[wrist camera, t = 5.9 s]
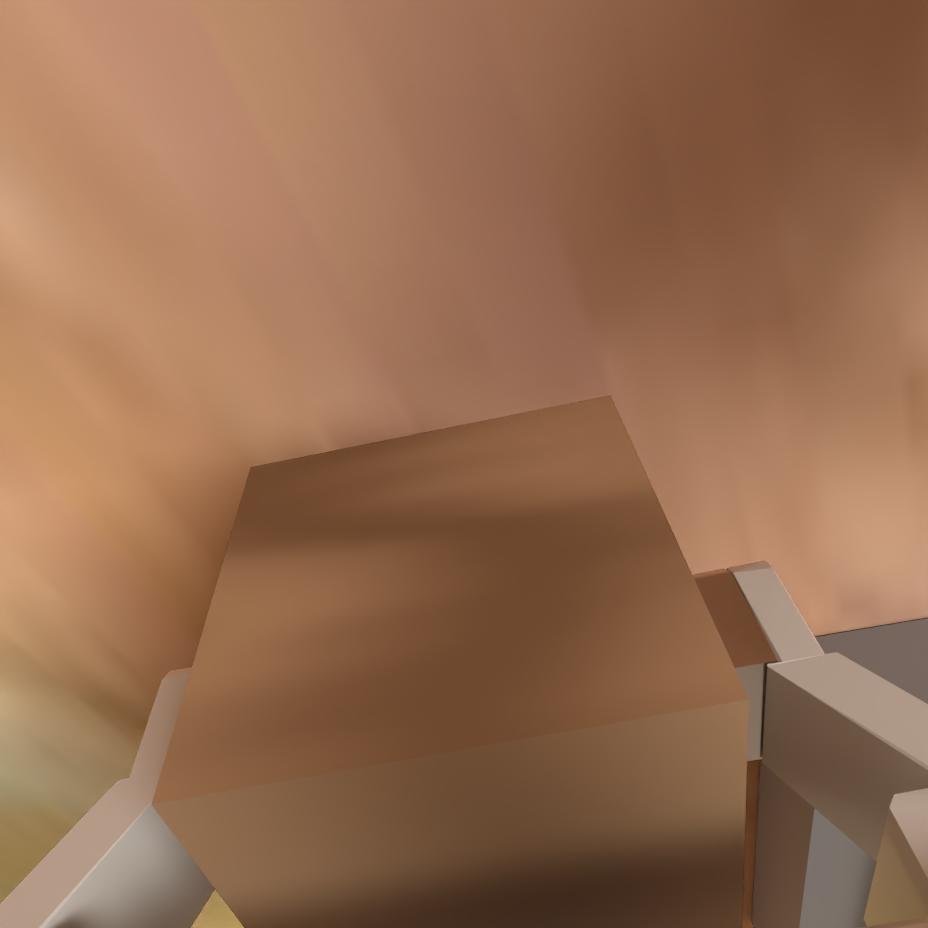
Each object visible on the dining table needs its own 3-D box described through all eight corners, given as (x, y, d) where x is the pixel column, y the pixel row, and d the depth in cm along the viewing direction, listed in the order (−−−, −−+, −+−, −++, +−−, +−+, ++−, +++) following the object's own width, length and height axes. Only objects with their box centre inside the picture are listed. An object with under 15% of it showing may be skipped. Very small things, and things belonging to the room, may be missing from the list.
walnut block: (349, 697, 13) (325, 1034, 9) (251, 467, 11) (152, 804, 6) (634, 646, 13) (741, 969, 9) (610, 395, 10) (748, 699, 6)
